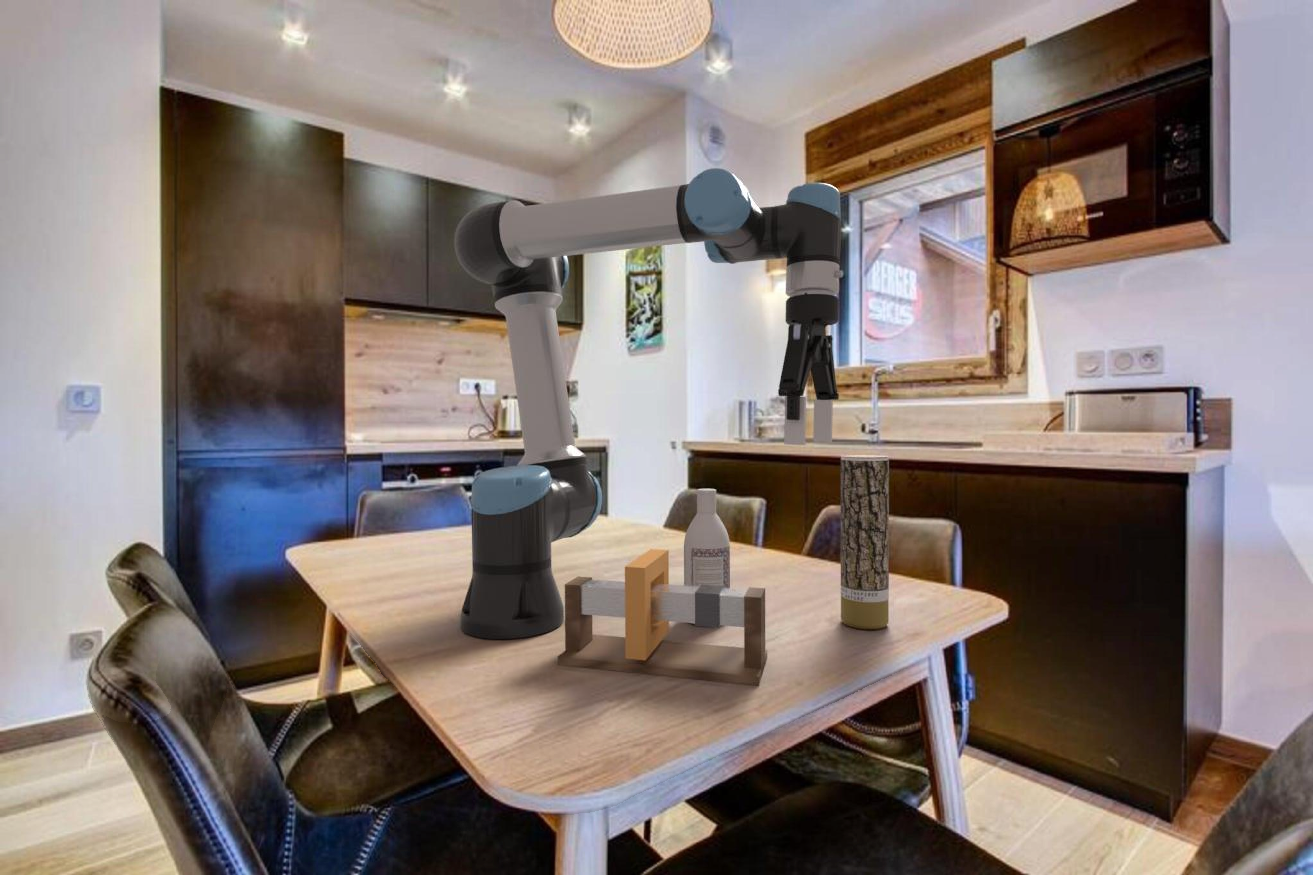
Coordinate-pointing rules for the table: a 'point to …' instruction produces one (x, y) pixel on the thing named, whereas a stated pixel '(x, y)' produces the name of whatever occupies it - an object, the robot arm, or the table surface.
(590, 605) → the rail
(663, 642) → the brown stand
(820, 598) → the table surface
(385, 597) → the table surface
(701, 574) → the bath foam
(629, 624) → the orange square ring
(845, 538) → the paper tube
